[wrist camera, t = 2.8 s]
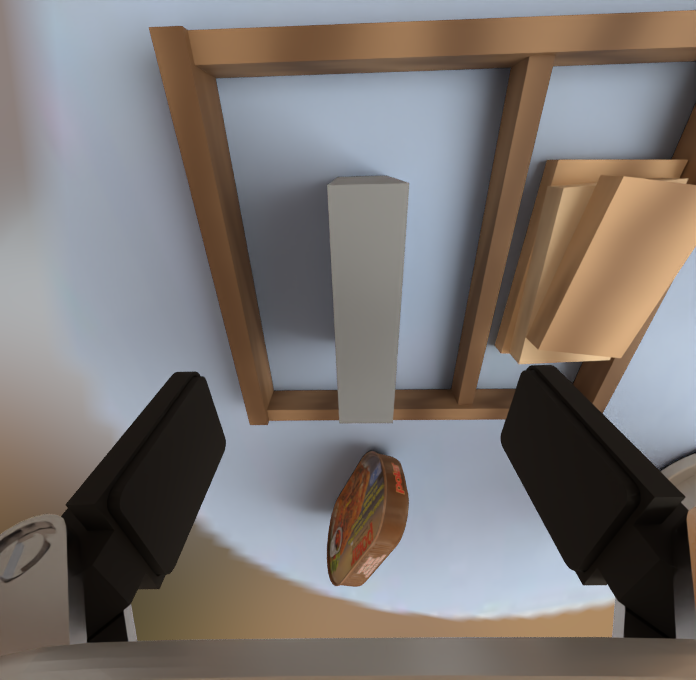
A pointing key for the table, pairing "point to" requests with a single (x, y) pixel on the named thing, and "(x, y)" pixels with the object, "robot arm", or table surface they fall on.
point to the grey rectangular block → (367, 291)
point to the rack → (504, 188)
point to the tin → (367, 520)
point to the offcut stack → (597, 258)
